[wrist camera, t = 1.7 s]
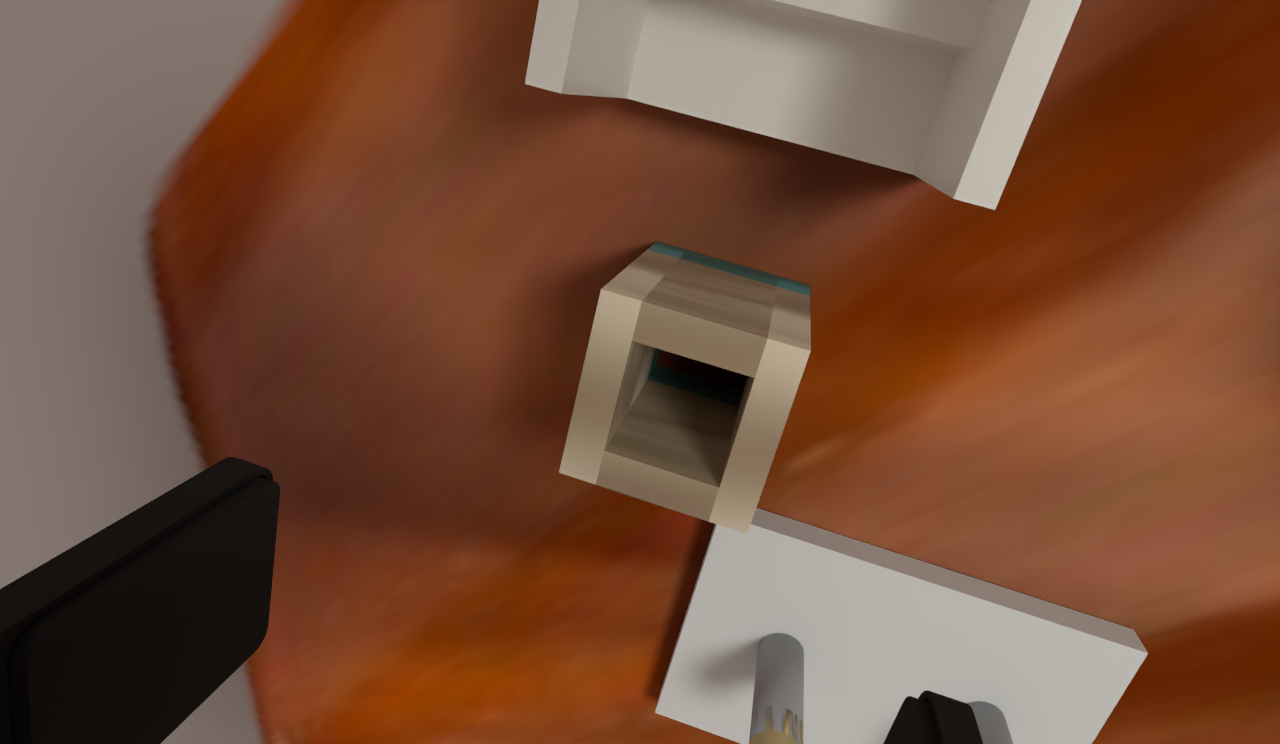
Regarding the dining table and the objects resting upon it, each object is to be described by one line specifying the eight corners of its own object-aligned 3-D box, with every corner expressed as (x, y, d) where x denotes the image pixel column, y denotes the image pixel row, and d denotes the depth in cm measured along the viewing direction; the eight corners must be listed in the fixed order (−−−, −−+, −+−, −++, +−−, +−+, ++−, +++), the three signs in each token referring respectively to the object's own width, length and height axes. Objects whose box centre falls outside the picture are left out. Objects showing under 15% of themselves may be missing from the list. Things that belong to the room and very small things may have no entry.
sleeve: (656, 241, 24) (601, 288, 18) (809, 285, 24) (810, 351, 17) (621, 382, 26) (558, 472, 19) (762, 426, 25) (747, 534, 19)
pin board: (723, 497, 26) (702, 593, 21) (1132, 629, 25) (1220, 768, 20) (660, 690, 30) (628, 815, 24) (1019, 817, 28) (1067, 980, 23)
